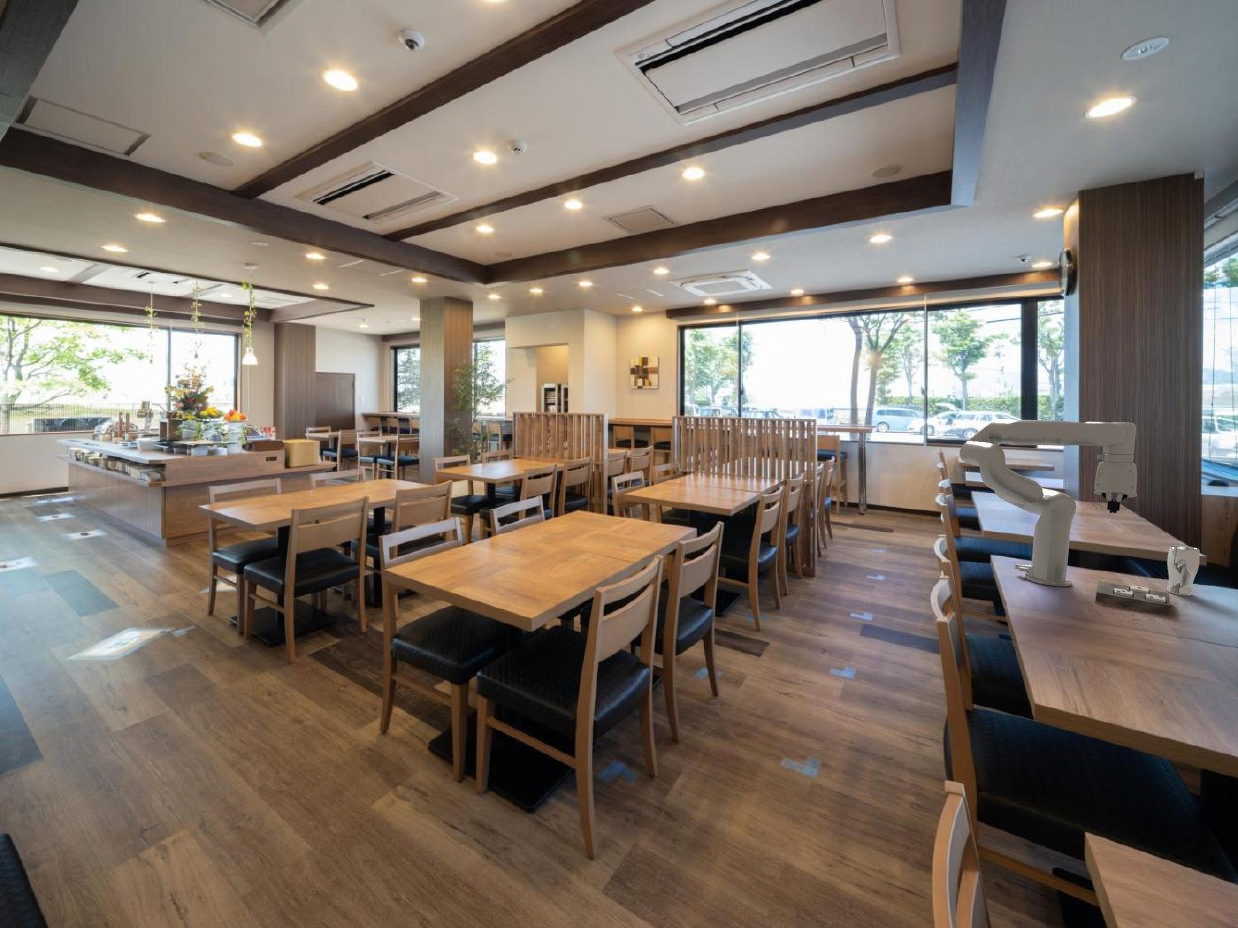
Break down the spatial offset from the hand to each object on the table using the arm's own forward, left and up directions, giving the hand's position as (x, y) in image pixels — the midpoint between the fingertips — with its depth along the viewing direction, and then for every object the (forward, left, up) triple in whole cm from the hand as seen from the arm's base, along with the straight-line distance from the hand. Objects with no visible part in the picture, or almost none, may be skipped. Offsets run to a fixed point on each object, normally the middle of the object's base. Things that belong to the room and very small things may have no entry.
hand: (1113, 512), depth 178 cm
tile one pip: (+8, -15, -24) cm, 29 cm away
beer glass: (+17, +2, -25) cm, 30 cm away
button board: (+6, -19, -24) cm, 32 cm away
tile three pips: (+4, -22, -24) cm, 33 cm away
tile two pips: (+11, -22, -24) cm, 34 cm away
